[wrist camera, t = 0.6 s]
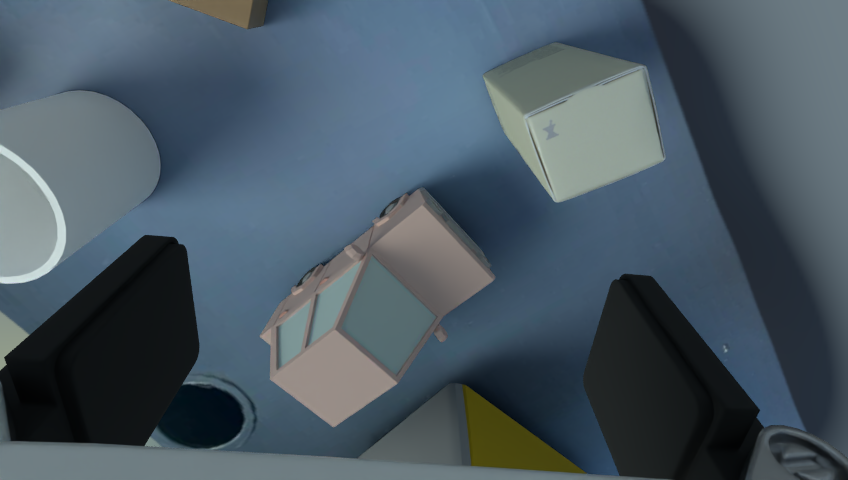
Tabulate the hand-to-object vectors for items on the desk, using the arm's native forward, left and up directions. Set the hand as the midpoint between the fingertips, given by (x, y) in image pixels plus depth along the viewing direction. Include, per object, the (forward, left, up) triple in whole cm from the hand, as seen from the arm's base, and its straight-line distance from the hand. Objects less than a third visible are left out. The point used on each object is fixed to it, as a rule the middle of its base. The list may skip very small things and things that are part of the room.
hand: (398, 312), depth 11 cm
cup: (+12, -20, -24) cm, 33 cm away
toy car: (+13, +2, -24) cm, 27 cm away
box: (-3, +7, -24) cm, 25 cm away
